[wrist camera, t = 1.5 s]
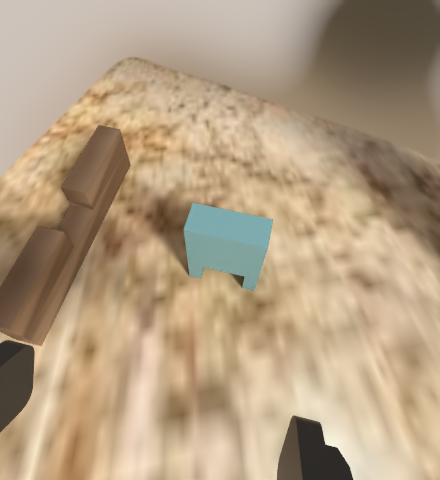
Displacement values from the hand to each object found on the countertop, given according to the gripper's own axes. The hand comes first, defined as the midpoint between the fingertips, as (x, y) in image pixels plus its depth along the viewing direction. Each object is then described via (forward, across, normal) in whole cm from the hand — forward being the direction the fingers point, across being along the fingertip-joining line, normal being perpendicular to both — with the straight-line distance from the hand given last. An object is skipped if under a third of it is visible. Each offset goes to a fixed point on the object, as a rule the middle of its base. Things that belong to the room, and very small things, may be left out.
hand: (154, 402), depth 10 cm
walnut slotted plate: (+21, +14, +3) cm, 25 cm away
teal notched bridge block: (+21, 0, +3) cm, 21 cm away
